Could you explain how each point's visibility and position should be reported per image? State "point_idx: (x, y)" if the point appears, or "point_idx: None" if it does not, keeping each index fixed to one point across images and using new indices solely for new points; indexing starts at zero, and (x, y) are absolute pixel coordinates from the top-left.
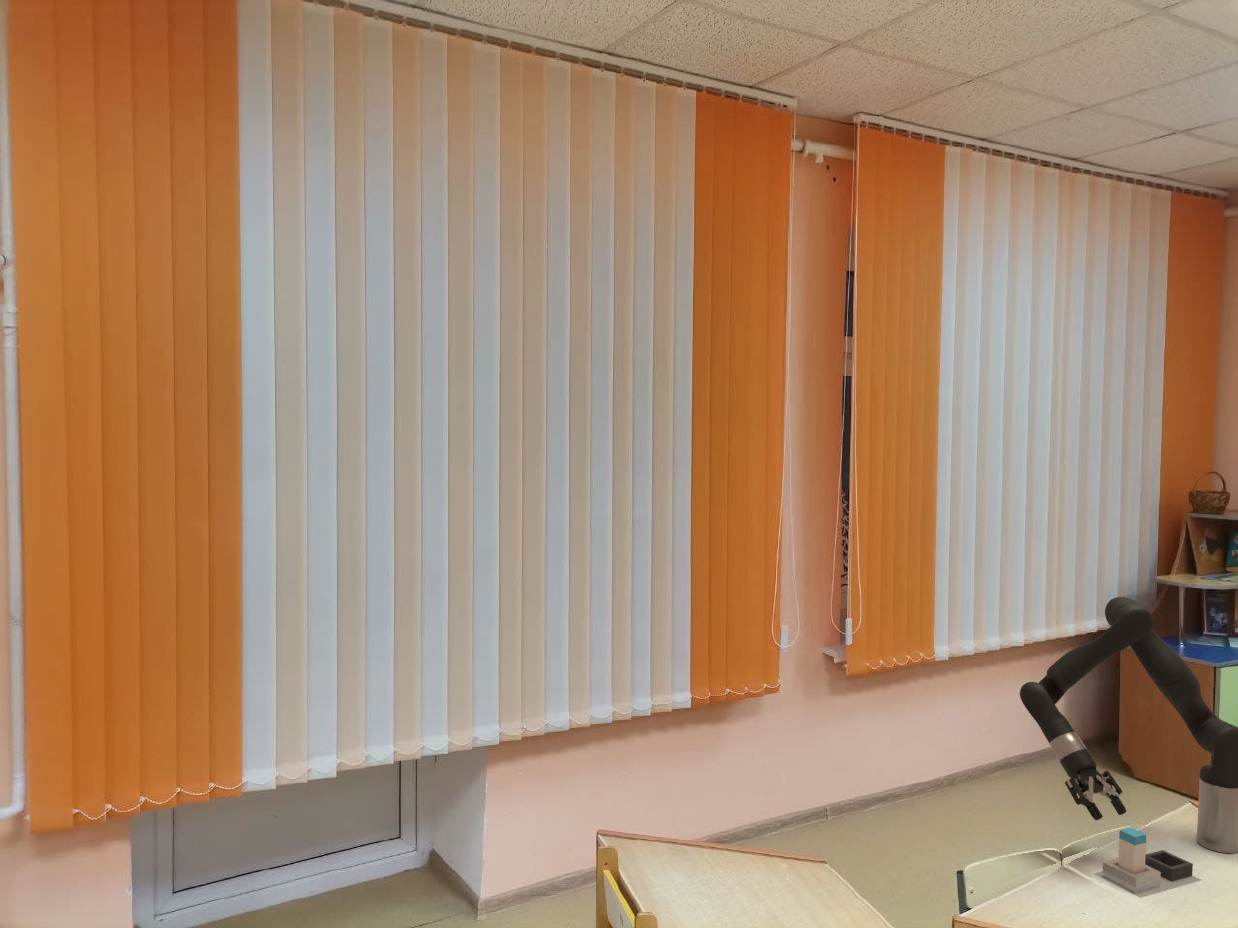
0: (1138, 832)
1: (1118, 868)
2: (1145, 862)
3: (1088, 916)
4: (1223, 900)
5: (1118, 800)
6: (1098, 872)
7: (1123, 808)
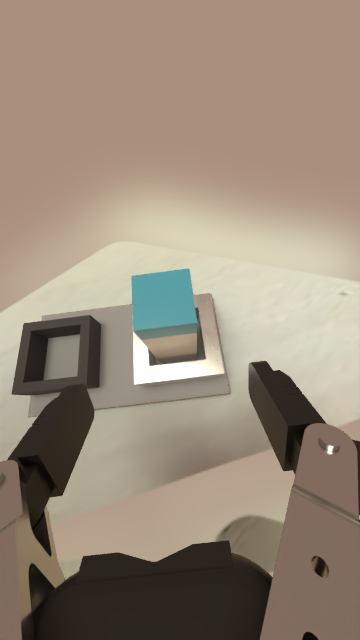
0: (145, 292)
1: (211, 337)
2: (93, 377)
3: (339, 283)
4: (70, 274)
5: (46, 434)
6: (216, 394)
7: (72, 392)
